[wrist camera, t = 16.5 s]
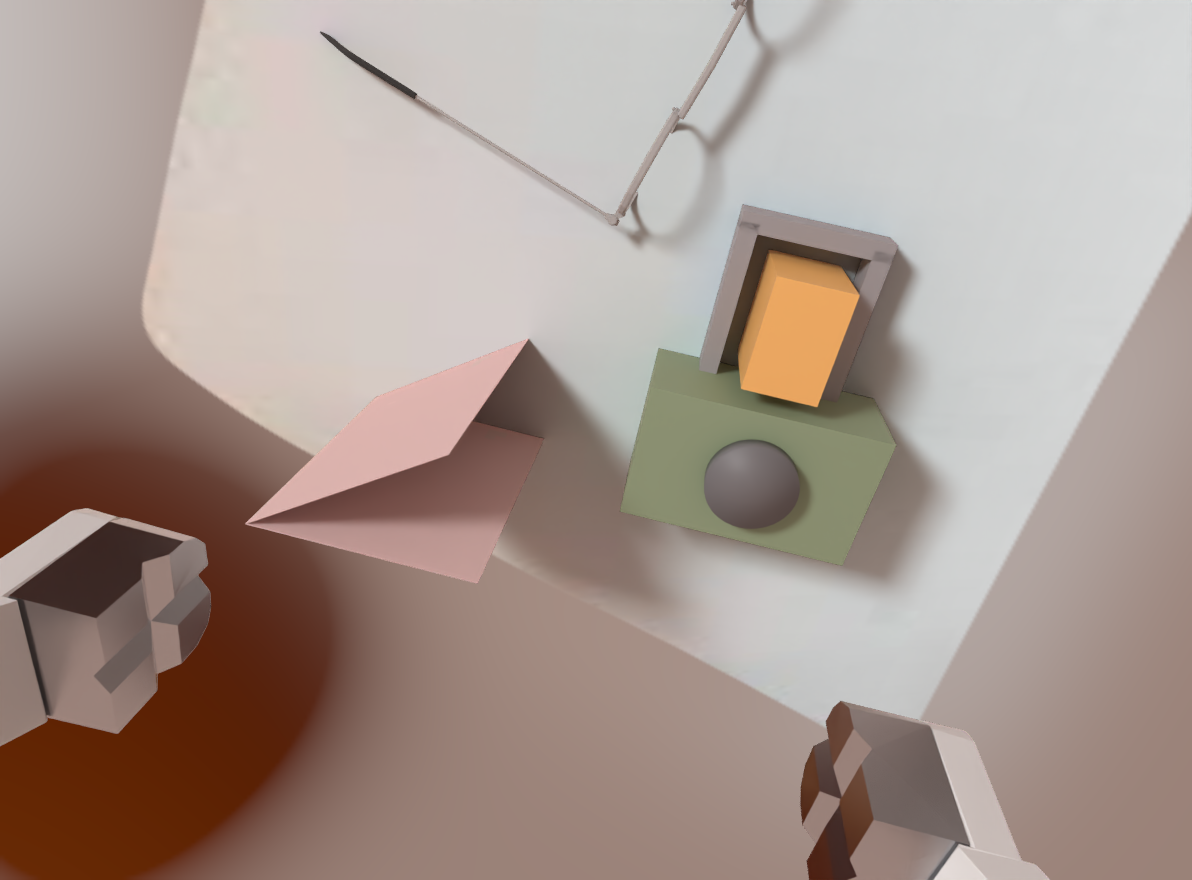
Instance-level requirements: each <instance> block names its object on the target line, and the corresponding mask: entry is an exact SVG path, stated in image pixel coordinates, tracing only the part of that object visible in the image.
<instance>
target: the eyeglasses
mask: <svg viewBox="0 0 1192 880" xmlns="http://www.w3.org/2000/svg"><path fill="white" fill-rule="evenodd" d="M746 1H747V0H735V2H731V5H733V8H734V9H736V12H735V14H734V16H733V17H732V19H731V21H730V23H729V25H728V27H727V29H726V31H725V32H724V34H723V36H722V38H721V40H720V42H719V44H718V45H717V47H716V49H715V51H714V53H713V55H712V57H711V58H710V60H709V62H708V64H707V66H706V67H705V69H704V71H703V72H702V74H701V76H700V77H699V79H698V81H697V82H696V84H695V86H694V87H693V89H692V91H691V92H690V94H689V96H688V97H687V99H686V101H685V102H684V104H683V106H682V108H681V109H678V108H675V107H673V108H672V110H673V112H672V113H671V115H670V116H669V118H668V120H667V121H666V123H665V124H664V126H663V128H662V130H661V131H660V133H659V135H658V136H657V138H656V140H655V142H654V143H653V145H652V147H651V149H650V150H649V152H648V154H647V156H646V157H645V159H644V161H643V163H642V165H641V166H640V168H639V170H638V172H637V173H636V175H635V177H634V179H633V181H632V183H631V184H630V186H629V188H628V190H627V192H626V194H625V196H624V198H623V199H622V201H621V203H620V205H619V208H618V210H617V211H616V213H615V214H608V213H607V214H606V213H604V212H603V211H601V210H600V209H598V208H596V207H595V206H593V205H592V204H590V203H588V202H587V201H585V200H584V199H582V198H580V197H579V196H577V195H576V194H574V193H572V192H571V191H569V190H568V189H566V188H564V187H563V186H561V185H560V184H558V183H556V182H555V181H553V180H552V179H550V178H548V177H547V176H545V175H544V174H542V173H540V172H539V171H537V170H535V169H534V168H532V167H531V166H529V165H527V164H526V163H524V162H523V161H521V160H519V159H518V158H516V157H515V156H513V155H511V154H510V153H508V152H507V151H505V150H503V149H502V148H500V147H499V146H497V145H495V144H494V143H492V142H491V141H489V140H487V139H486V138H484V137H483V136H481V135H479V134H478V133H476V132H475V131H473V130H471V129H470V128H468V127H466V126H465V125H463V124H462V123H460V122H458V121H457V120H455V119H454V118H452V117H450V116H449V115H447V114H446V113H444V112H442V111H441V110H439V109H438V108H436V107H434V106H433V105H431V104H430V103H428V102H426V101H425V100H423V99H422V98H420V97H418V96H417V94H416V93H415V92H413V91H412V90H410V89H409V88H407V87H406V86H404V85H402V84H401V83H399V82H398V81H396V80H394V79H393V78H391V77H390V76H388V75H387V74H385V73H383V72H382V71H380V70H379V69H377V68H375V67H374V66H372V65H371V64H369V63H367V62H366V61H364V60H363V59H361V58H359V57H358V56H356V55H355V54H353V53H352V52H350V51H349V50H347V49H346V48H344V47H343V46H342V45H340V44H339V43H338V42H337V41H336V40H335V39H333V38H332V37H331V36H329V35H327V34H325V33H323V32H320V33H321V34H322V35H323V36H324V37H325V38H326V39H327V40H328V41H329V42H331V43H332V44H333V45H334V46H335V47H336V48H337V49H338V50H340V51H341V52H342V53H343V54H344V55H346V56H347V57H348V58H349V59H351V60H352V61H354V62H356V63H357V64H359V65H360V66H362V67H363V68H365V69H367V70H368V71H370V72H372V73H373V74H375V75H376V76H378V77H380V78H381V79H383V80H384V81H386V82H388V83H389V84H391V85H392V86H394V87H396V88H397V89H399V90H400V91H402V92H404V93H405V94H407V95H409V96H410V97H412V98H414V99H415V98H417V99H418V100H420V101H421V102H423V103H425V104H426V105H428V106H430V107H431V108H433V109H434V110H436V111H438V112H439V113H441V114H442V115H444V116H446V117H447V118H449V119H450V120H452V121H454V122H455V123H457V124H458V125H460V126H462V127H463V128H465V129H466V130H468V131H470V132H471V133H473V134H474V135H476V136H478V137H479V138H481V139H482V140H484V141H486V142H487V143H489V144H491V145H492V146H494V147H495V148H497V149H499V150H500V151H502V152H503V153H505V154H507V155H508V156H510V157H511V158H513V159H515V160H516V161H518V162H519V163H521V164H523V165H524V166H526V167H527V168H529V169H531V170H532V171H534V172H535V173H537V174H539V175H540V176H542V177H544V178H545V179H547V180H548V181H550V182H552V183H553V184H555V185H556V186H558V187H560V188H561V189H563V190H564V191H566V192H568V193H569V194H571V195H572V196H574V197H576V198H577V199H579V200H580V201H582V202H584V203H585V204H587V205H588V206H590V207H592V208H593V209H595V210H596V211H598V212H600V213H601V214H603V215H605V218H606V219H607V220H608V223H609V224H610V225H616V226H617V225H618V223H619V218H622V217H624V216H625V214H626V212H627V210H628V209H629V207H630V205H631V204H632V202H633V201H634V199H635V197H636V196H637V194H638V192H636V191H637V189H638V187H639V185H640V184H641V182H642V180H643V178H644V177H645V175H646V173H647V171H648V169H649V168H650V166H651V164H652V162H653V161H654V159H655V157H656V155H657V154H658V152H659V150H660V148H661V147H662V145H663V143H664V141H665V140H666V138H667V136H668V135H669V133H672V132H673V130H674V129H675V127H676V125H677V123H678V121H679V119H680V118H681V119H684V118H685V116H686V114H687V113H688V111H689V109H690V108H691V106H692V104H693V103H694V101H695V99H696V98H697V96H698V94H699V93H700V91H701V89H702V88H703V86H704V84H705V83H706V81H707V79H708V78H709V76H710V74H711V73H712V71H713V70H714V68H715V66H716V64H717V62H718V61H719V59H720V57H721V55H722V53H723V51H724V50H725V48H726V46H727V44H728V42H729V40H730V38H731V37H732V35H733V33H734V31H735V29H736V27H737V26H738V24H739V22H740V20H741V18H742V16H743V14H744V13H745V11H746V9H747V7H746V6H745V5H744V4H745V3H746Z"/></svg>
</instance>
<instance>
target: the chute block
mask: <svg viewBox="0 0 1192 880" xmlns="http://www.w3.org/2000/svg"><path fill="white" fill-rule="evenodd" d="M859 296H860V295H859V293H858V292H857V290H856V289H855V287H854V286H853V284H852V283H851V281H850V280H849V278H848V277H847V275H846V274H845V272H844V271H843V269H842V267H841V266H839V265H835V264H831V263H826V262H822V261H818V260H813V259H809V258H805V257H800V256H796V255H792V254H787V253H783V252H779V251H774V250H770V249H769V250H768V253H767V256H766V260H765V263H764V266H763V269H762V272H761V276H760V279H759V282H758V285H757V289H756V292H755V295H754V298H753V302H752V305H751V308H750V311H749V315H748V318H747V321H746V324H745V327H744V331H743V334H742V337H741V340H740V344H739V347H738V360H739V372H740V384H741V389H743V390H747V391H751V392H756V393H760V394H764V395H768V396H772V397H777V398H781V399H785V400H789V401H793V402H797V403H802V404H806V405H810V406H814V407H818V404H819V401H820V399H821V396H822V393H823V391H824V388H825V386H826V383H827V380H828V378H829V375H830V372H831V370H832V367H833V365H834V362H835V359H836V357H837V354H838V352H839V349H840V346H841V344H842V341H843V338H844V336H845V333H846V331H847V328H848V325H849V323H850V320H851V317H852V315H853V312H854V310H855V307H856V304H857V302H858V299H859Z"/></svg>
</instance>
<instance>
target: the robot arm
mask: <svg viewBox="0 0 1192 880" xmlns="http://www.w3.org/2000/svg"><path fill="white" fill-rule="evenodd" d="M207 565H208V562H207V555H206V548H205V543H203V542H201V541H200V540H198V539H196V538H194V537H191V536H187V535H183V534H180V533H176V532H173V531H169V530H165V529H162V528H158V527H154V526H151V525H147V524H144V523H141V522H137V521H133V520H129V519H126V518H119V517H115V516H112V515H109V514H105V513H102V512H98V511H95V510H91V509H87V508H86V509H80V510H75V511H71V512H69V513H68V514H66V515H65V516H63V517H62V518H61V519H59V520H58V521H56V522H55V523H53V524H52V525H50V526H49V527H47V528H46V529H44V530H43V531H41V532H40V533H38V534H37V535H35V536H34V537H33V538H31V539H29V540H28V541H26V542H25V543H23V544H22V545H20V546H19V547H17V548H16V549H15V550H13V551H11V552H10V553H8V554H7V555H6V556H4V557H3V558H1V559H0V746H1V745H3V744H5V743H7V742H9V741H11V740H13V739H14V738H17V737H19V736H21V735H22V734H24V733H26V732H28V731H30V730H32V729H34V728H36V727H38V726H40V725H42V724H44V723H45V722H47V717H48V718H53V719H57V720H61V721H65V722H70V723H74V724H78V725H82V726H87V727H91V728H95V729H100V730H104V731H108V732H112V733H117V734H118V733H119V732H120V731H121V730H122V729H123V727H124V726H125V725H126V724H127V723H128V722H129V721H130V720H131V719H132V718H133V716H134V715H135V714H136V713H137V712H138V711H139V710H140V709H141V708H142V707H143V705H144V704H145V703H146V702H147V701H148V700H149V699H150V698H151V696H152V695H153V694H154V693H155V692H156V691H157V674H158V673H160V672H162V671H165V670H167V669H169V668H172V667H174V666H176V665H179V664H181V663H182V662H183V661H184V660H185V659H186V658H187V656H188V655H189V654H190V653H191V652H192V651H193V649H194V648H195V647H196V646H197V644H198V642H199V640H200V638H201V636H202V634H203V632H204V630H205V628H206V626H207V624H208V619H209V615H210V609H211V600H210V591H209V590H208V588H207V587H206V586H205V584H204V583H203V582H202V580H201V579H200V578H199V576H198V574H199V573H200V572H201V571H202V570H203V569H204V568H205V567H206V566H207ZM826 726H827V732H828V739H827V740H825V741H823V742H821V743H819V744H817V745H815V746H813V748H812V751H811V753H810V755H809V758H808V760H807V762H806V764H805V768H804V773H803V778H802V783H801V797H800V806H801V816H802V825H803V826H804V828H805V829H806V831H807V832H808V834H809V835H810V836H811V838H812V839H813V841H814V842H815V843H816V845H815V847H814V848H813V850H812V852H811V854H810V856H809V858H808V859H807V868H808V875H809V880H1050V879H1049V878H1048V877H1047V876H1046V875H1045V874H1044V873H1043V872H1042V871H1041V870H1040V869H1039V868H1038V867H1037V866H1036V865H1035V864H1032V863H1028V862H1025V861H1022V859H1021V857H1020V854H1019V852H1018V850H1017V847H1016V844H1015V842H1014V840H1013V837H1012V835H1011V832H1010V830H1009V827H1008V824H1007V822H1006V820H1005V817H1004V814H1003V812H1002V809H1001V807H1000V805H999V802H998V799H997V797H996V794H995V792H994V790H993V787H992V785H991V782H990V780H989V777H988V775H987V772H986V769H985V767H984V764H983V762H982V759H981V757H980V755H979V752H978V749H977V747H976V744H975V742H974V740H973V738H972V737H971V736H970V735H969V734H968V733H967V732H966V731H965V730H960V729H956V728H952V727H948V726H943V725H939V724H935V723H931V722H927V721H919V720H917V719H913V718H909V717H905V716H901V715H897V714H892V713H888V712H884V711H880V710H876V709H872V708H868V707H864V706H860V705H856V704H851V703H847V702H843V701H840V702H839V703H838V704H837V705H836V706H834V707H833V709H832V711H831V713H830V715H829V716H828V718H827V720H826Z"/></svg>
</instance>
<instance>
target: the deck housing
mask: <svg viewBox="0 0 1192 880" xmlns="http://www.w3.org/2000/svg"><path fill="white" fill-rule="evenodd" d="M757 234H758V235H762V236H766V237H771V238H775V239H780V240H784V241H789V242H793V243H797V244H802V245H806V246H811V247H815V248H819V249H824V250H828V251H833V252H837V253H841V254H846V255H850V256H855V257H859V258H862V260H861V263H860V265H859V268H858V271H857V273H856V276H855V279H854V282H853V286H854V287H855V289H856V290H857V292H858V293H859V295H860V296H859V299H858V302H857V304H856V307H855V310H854V312H853V315H852V317H851V320H850V323H849V325H848V328H847V331H846V333H845V336H844V338H843V341H842V344H841V346H840V349H839V352H838V354H837V357H836V359H835V362H834V365H833V367H832V370H831V372H830V375H829V378H828V380H827V383H826V386H825V388H824V391H823V393H822V396H821V399H820V401H819V404H818V407H814V406H810V405H806V404H802V403H797V402H793V401H789V400H785V399H781V398H777V397H772V396H768V395H764V394H760V393H756V392H751V391H747V390H743V389H741V384H740V372H739V367H736V366H732V365H728V364H724V363H720V359H721V356H722V353H723V349H724V346H725V343H726V339H727V336H728V332H729V329H730V326H731V322H732V319H733V315H734V312H735V309H736V305H737V302H738V299H739V295H740V292H741V288H742V285H743V282H744V278H745V275H746V271H747V268H748V265H749V261H750V258H751V255H752V251H753V248H754V244H755V241H756V238H757ZM897 248H898V245H897V244H896V243H895V242H894V241H893V240H892V239H891V238H890V237H885V236H881V235H877V234H872V233H868V232H863V231H859V230H854V229H850V228H846V227H841V226H837V225H832V224H828V223H823V222H819V221H814V220H810V219H806V218H801V217H797V216H792V215H788V214H783V213H779V212H775V211H770V210H766V209H761V208H757V207H752V206H748V205H744V204H743V205H742V208H741V212H740V215H739V219H738V223H737V226H736V230H735V233H734V237H733V240H732V244H731V248H730V251H729V255H728V258H727V262H726V265H725V269H724V273H723V276H722V280H721V283H720V287H719V290H718V294H717V298H716V301H715V305H714V308H713V312H712V315H711V319H710V323H709V326H708V330H707V333H706V337H705V340H704V344H703V348H702V351H701V355H700V358H698V357H694V356H689V355H685V354H681V353H677V352H672V351H668V350H664V349H660V348H659V349H658V353H657V357H656V361H655V365H654V369H653V373H652V377H651V381H650V385H649V389H648V393H647V397H646V401H645V405H644V409H643V413H642V417H641V421H640V425H639V429H638V433H637V437H636V441H635V445H634V449H633V453H632V457H631V461H630V466H629V471H628V475H627V480H626V485H625V490H624V494H623V499H622V504H621V508H620V512H623V513H628V514H632V515H636V516H640V517H644V518H648V519H652V520H656V521H660V522H664V523H669V524H673V525H677V526H681V527H685V528H689V529H693V530H697V531H701V532H705V533H709V534H714V535H718V536H722V537H726V538H730V539H734V540H738V541H742V542H746V543H750V544H755V545H759V546H763V547H767V548H771V549H775V550H779V551H783V552H787V553H791V554H796V555H800V556H804V557H808V558H812V559H816V560H820V561H824V562H828V563H832V564H836V565H841V566H842V565H843V563H844V561H845V558H846V556H847V554H848V552H849V550H850V547H851V545H852V543H853V541H854V538H855V536H856V534H857V532H858V530H859V527H860V525H861V523H862V521H863V518H864V516H865V514H866V512H867V510H868V507H869V505H870V503H871V501H872V498H873V496H874V494H875V492H876V490H877V487H878V485H879V483H880V481H881V478H882V476H883V474H884V472H885V470H886V467H887V465H888V463H889V461H890V458H891V456H892V454H893V452H894V450H895V447H896V443H895V441H894V439H893V437H892V435H891V433H890V431H889V429H888V427H887V425H886V423H885V421H884V419H883V417H882V415H881V413H880V411H879V409H878V407H877V405H876V403H875V401H874V399H873V398H868V397H864V396H860V395H856V394H851V393H847V392H843V391H842V388H843V386H844V383H845V381H846V378H847V376H848V373H849V371H850V368H851V365H852V363H853V360H854V358H855V355H856V353H857V350H858V348H859V345H860V342H861V340H862V337H863V335H864V332H865V330H866V327H867V325H868V322H869V320H870V317H871V314H872V312H873V309H874V307H875V304H876V302H877V299H878V297H879V294H880V291H881V289H882V286H883V284H884V281H885V279H886V276H887V274H888V271H889V268H890V266H891V263H892V261H893V258H894V256H895V253H896V251H897Z"/></svg>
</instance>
